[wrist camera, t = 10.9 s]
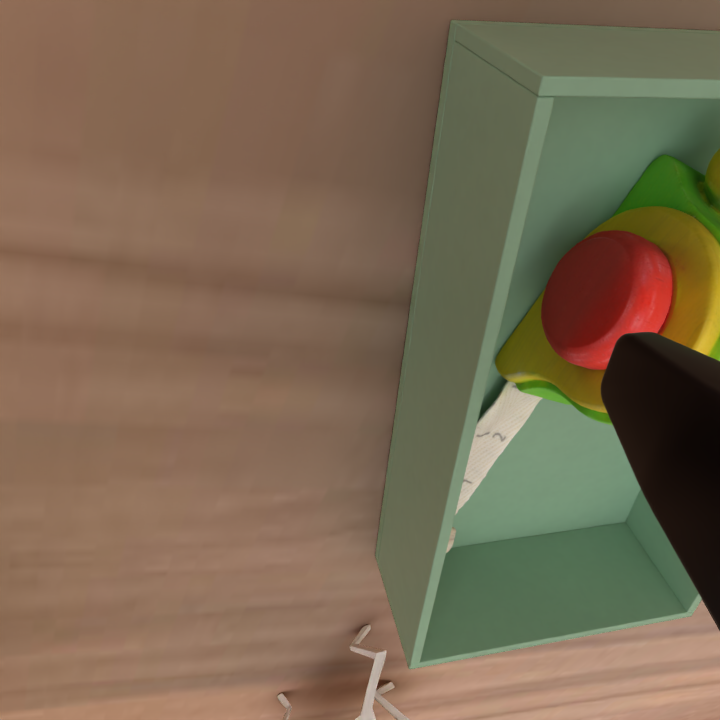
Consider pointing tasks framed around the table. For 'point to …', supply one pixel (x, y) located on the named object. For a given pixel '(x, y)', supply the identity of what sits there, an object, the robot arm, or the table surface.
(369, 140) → the table surface
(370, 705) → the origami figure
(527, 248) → the tray
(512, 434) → the toy measuring tape
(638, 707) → the table surface
